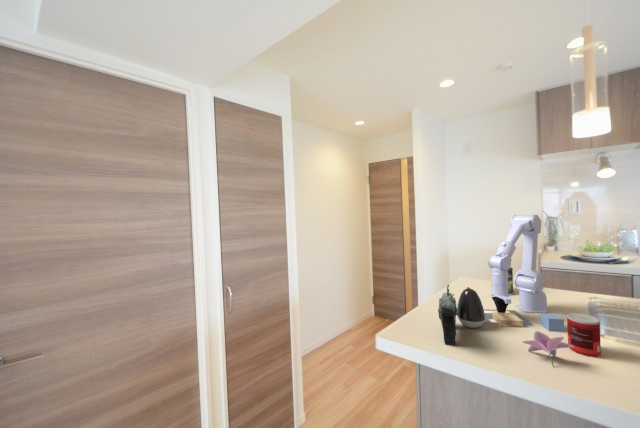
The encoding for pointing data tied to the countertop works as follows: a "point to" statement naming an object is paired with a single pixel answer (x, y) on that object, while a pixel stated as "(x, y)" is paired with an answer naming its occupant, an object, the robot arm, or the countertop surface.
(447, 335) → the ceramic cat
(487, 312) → the letter card
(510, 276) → the coffee can
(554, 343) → the lily
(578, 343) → the canned food
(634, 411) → the countertop surface
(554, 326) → the blue cube
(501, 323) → the oak slab
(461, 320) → the black egg shaped container
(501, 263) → the robot arm
